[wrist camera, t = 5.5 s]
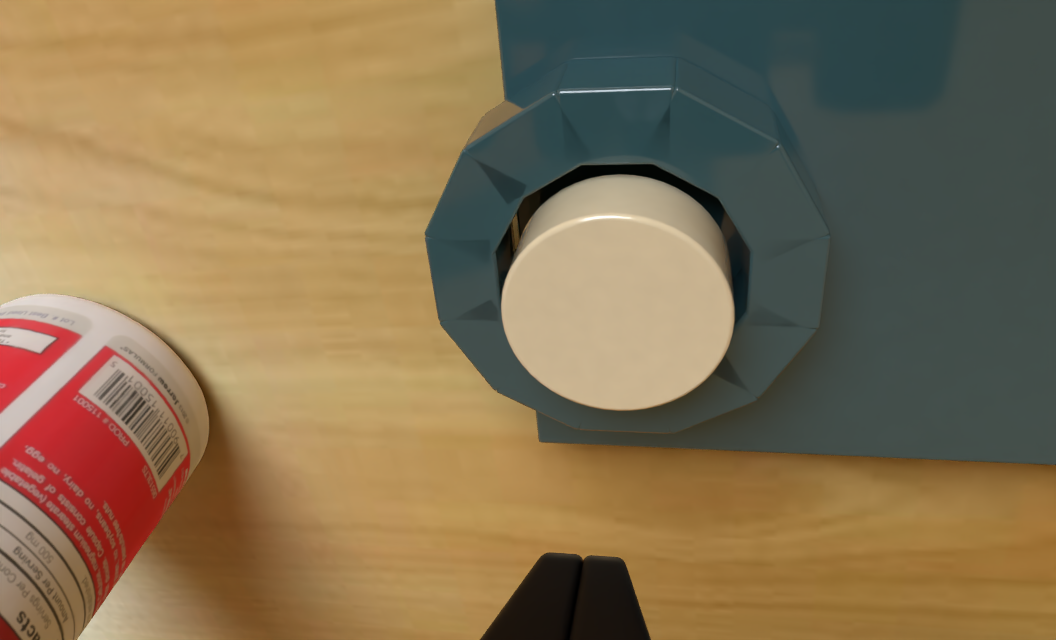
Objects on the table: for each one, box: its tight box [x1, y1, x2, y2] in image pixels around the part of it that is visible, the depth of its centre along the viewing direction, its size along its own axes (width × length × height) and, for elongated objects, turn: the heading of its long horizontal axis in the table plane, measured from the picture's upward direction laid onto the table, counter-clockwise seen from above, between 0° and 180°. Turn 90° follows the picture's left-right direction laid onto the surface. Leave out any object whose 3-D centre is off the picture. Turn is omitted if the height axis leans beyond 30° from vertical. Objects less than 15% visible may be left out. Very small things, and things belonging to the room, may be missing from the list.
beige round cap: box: [501, 174, 735, 411], centre depth 13 cm, size 4×4×2 cm
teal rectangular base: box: [425, 0, 1056, 465], centre depth 14 cm, size 17×10×3 cm, turn 95°
